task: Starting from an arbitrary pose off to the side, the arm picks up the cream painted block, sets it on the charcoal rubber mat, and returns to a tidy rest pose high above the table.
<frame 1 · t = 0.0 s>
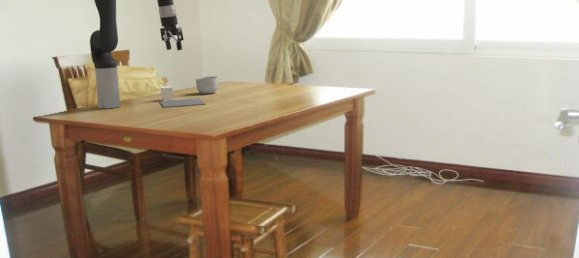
hand: (174, 49, 283), 22 cm above the table, tool pointing down, fingers open, 8 cm apart
teacup: (209, 93, 298), on the table
cream block: (167, 100, 279), on the table
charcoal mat: (182, 103, 267), on the table
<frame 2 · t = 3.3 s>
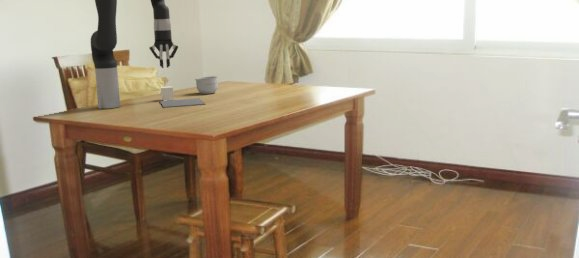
hand: (165, 67, 276), 15 cm above the table, tool pointing down, fingers closed
nothing on the table moved.
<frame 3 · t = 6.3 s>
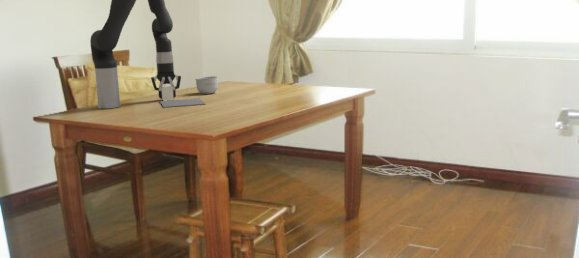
hand: (167, 98, 279), 1 cm above the table, tool pointing down, fingers closed on cream block, 5 cm apart
cream block: (167, 99, 279), on the table, touching gripper
everything else where it was.
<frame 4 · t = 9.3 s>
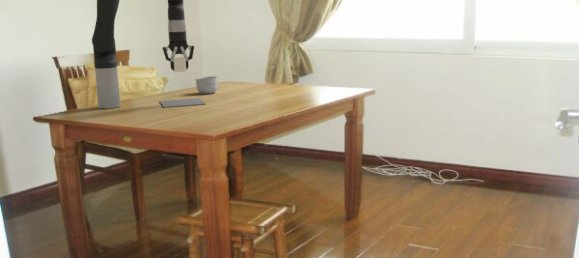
hand: (179, 69, 264), 15 cm above the table, tool pointing down, fingers closed on cream block, 5 cm apart
cream block: (179, 71, 264), point 14 cm above the table, touching gripper
everything else where it was.
when the fingers open (2 cm above the table, at t = 12.3 s): cream block drops 1 cm, resting on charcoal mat.
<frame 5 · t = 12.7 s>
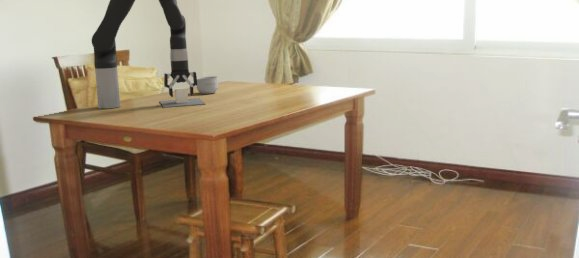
hand: (181, 96, 266), 3 cm above the table, tool pointing down, fingers open, 8 cm apart
cream block: (181, 102, 267), resting on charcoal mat
everything else where it was.
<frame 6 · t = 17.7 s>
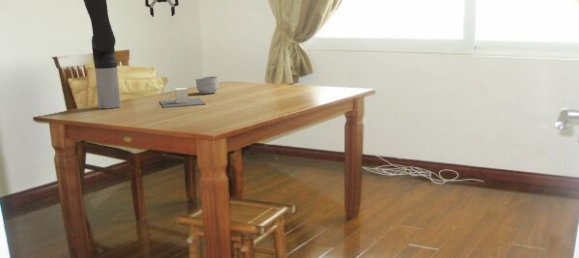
hand: (162, 16, 266), 38 cm above the table, tool pointing down, fingers open, 8 cm apart
nothing on the table moved.
at the end: cream block inside the target area (0.1 cm from its centre), resting on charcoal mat; cream block tilted 0°; the gripper is holding nothing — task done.
